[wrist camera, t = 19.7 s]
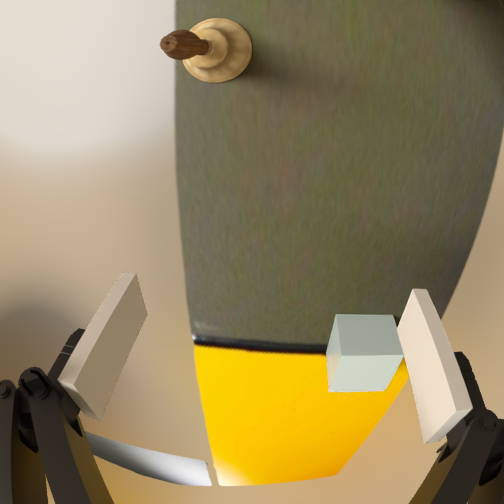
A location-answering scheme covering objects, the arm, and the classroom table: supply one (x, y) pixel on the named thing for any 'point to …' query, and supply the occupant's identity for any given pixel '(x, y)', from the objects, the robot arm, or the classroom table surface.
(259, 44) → the classroom table surface
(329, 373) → the rounded gray box
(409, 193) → the classroom table surface
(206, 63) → the hand bell
